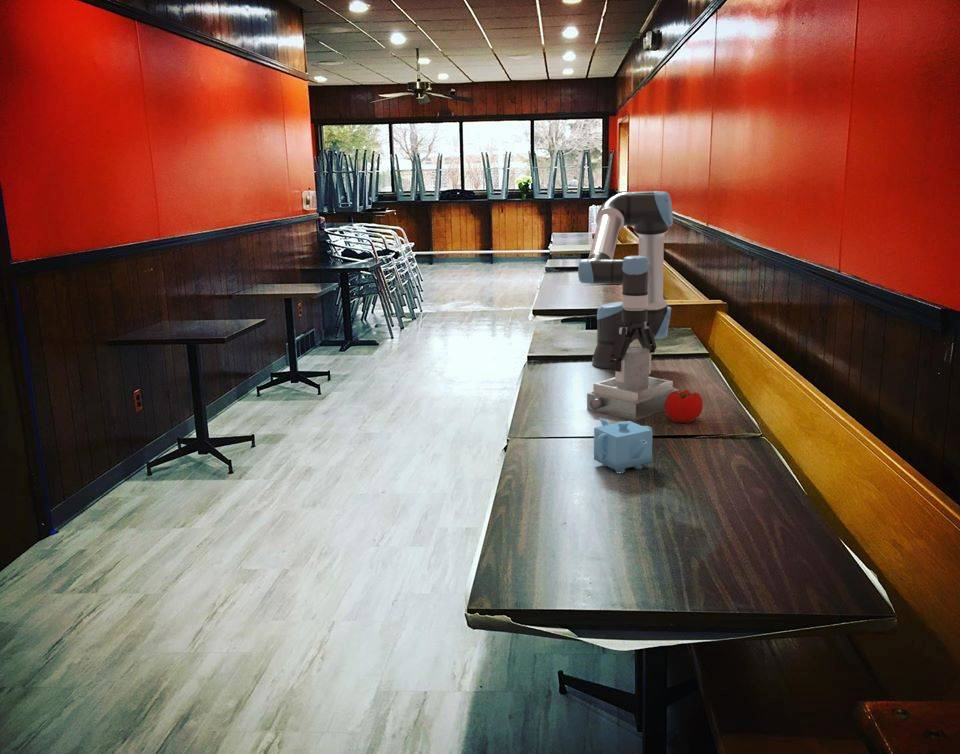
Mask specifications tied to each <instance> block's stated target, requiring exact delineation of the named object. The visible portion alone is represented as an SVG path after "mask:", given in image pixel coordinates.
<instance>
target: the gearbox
mask: <svg viewBox="0 0 960 754" xmlns="http://www.w3.org/2000/svg"><path fill="white" fill-rule="evenodd" d="M673 383H674V381H673V380H668V379H662V378H658V377H652V376H649V388H646V389H643V390H640V391H632V390H627V389H622V388H618V382H617V381H615V376H614V377H611V378H607V379H605V380H601V381H597V382H595V383H593V387H592V390H593V391H591V392H587V393H586V409H587V410H590V411H593V412H597V413H601V414H606V415H610V416H614V417H618V418H622V419H627V420H629V421H639V420H641V419H644V418H646V417H649V416H652V415H656V414H657V413H660V412H663V411H665V406H664V405H665V401H666V399H667V397H668V395H669V394H670V393H672V392H674V391H677V392H679V388H675V387H674V386H673V385H674V384H673Z"/></svg>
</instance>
